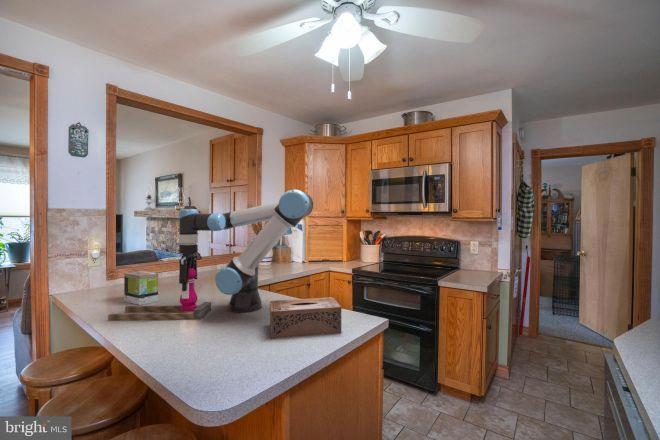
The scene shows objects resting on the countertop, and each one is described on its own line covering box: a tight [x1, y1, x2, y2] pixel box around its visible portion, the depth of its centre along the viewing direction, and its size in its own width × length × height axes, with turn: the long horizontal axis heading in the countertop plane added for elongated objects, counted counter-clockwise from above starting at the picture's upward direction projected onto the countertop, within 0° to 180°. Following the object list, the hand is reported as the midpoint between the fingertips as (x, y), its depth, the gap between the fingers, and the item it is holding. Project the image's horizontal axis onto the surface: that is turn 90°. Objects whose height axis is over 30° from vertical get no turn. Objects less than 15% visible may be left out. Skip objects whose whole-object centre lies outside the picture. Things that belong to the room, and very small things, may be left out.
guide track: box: [107, 301, 212, 322], centre depth 139 cm, size 38×13×4 cm, turn 92°
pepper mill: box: [179, 268, 198, 313], centre depth 139 cm, size 7×7×20 cm
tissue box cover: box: [269, 296, 342, 340], centre depth 122 cm, size 26×14×10 cm, turn 102°
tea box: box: [123, 270, 159, 306], centre depth 162 cm, size 15×10×15 cm, turn 58°
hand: (188, 296), depth 139 cm, fingers closed on pepper mill, 6 cm apart
